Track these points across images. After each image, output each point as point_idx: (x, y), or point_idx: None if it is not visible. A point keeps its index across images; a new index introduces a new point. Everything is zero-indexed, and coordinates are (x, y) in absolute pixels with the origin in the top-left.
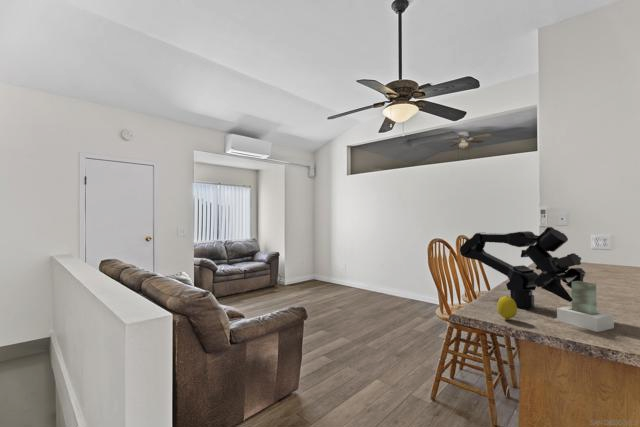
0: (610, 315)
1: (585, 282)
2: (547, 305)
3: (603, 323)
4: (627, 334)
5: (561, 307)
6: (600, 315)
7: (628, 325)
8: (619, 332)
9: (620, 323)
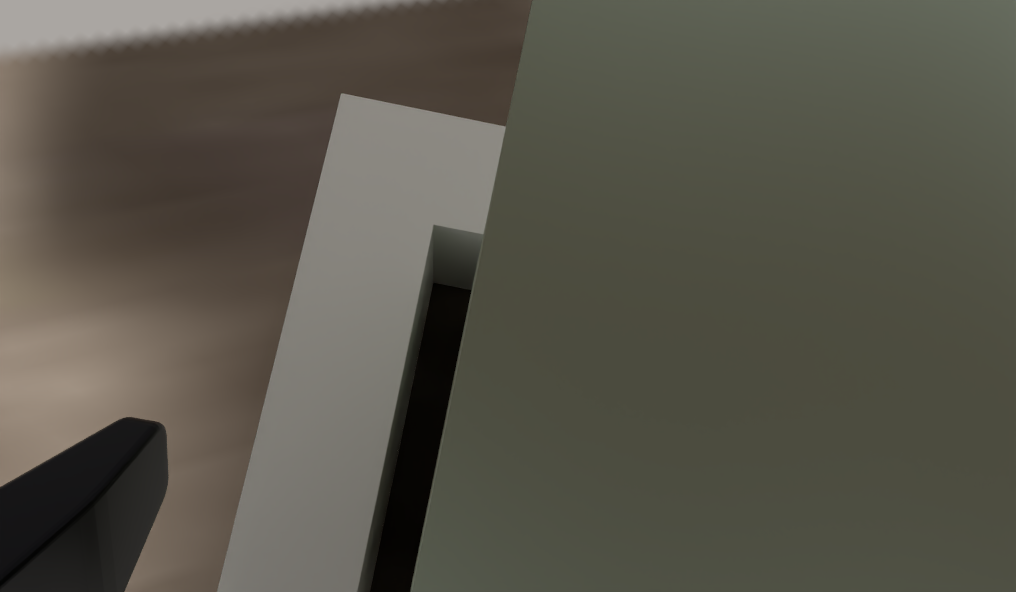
0: (437, 113)
1: (601, 336)
2: None
3: None
4: (511, 38)
5: None
6: None
7: (57, 99)
8: (507, 103)
9: (30, 179)
